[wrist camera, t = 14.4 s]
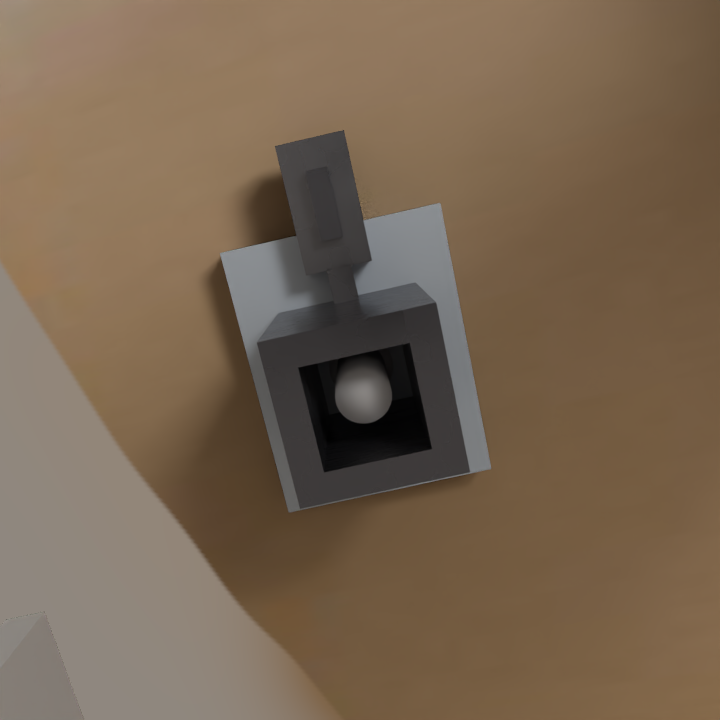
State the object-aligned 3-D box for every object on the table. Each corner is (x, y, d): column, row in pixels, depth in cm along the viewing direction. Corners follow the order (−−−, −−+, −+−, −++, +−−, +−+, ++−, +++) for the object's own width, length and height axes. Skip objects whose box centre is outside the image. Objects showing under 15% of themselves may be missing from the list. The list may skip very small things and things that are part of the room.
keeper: (225, 251, 34) (191, 261, 27) (436, 203, 34) (460, 199, 26) (291, 500, 37) (276, 571, 30) (485, 458, 37) (520, 519, 29)
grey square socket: (239, 158, 32) (203, 138, 24) (383, 124, 31) (394, 94, 24) (310, 443, 35) (299, 509, 27) (442, 414, 34) (470, 472, 27)
